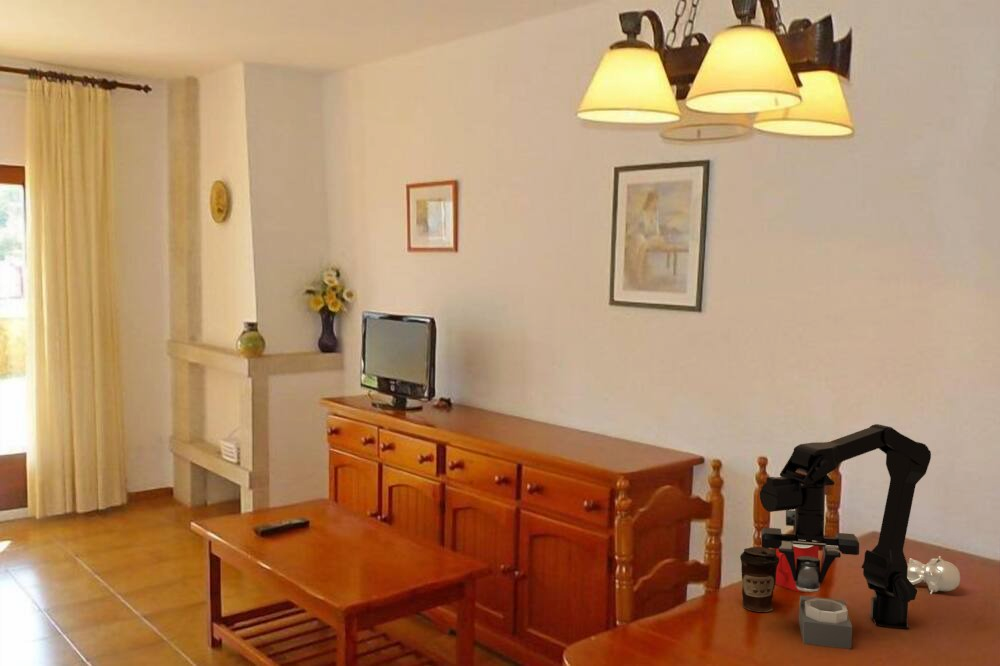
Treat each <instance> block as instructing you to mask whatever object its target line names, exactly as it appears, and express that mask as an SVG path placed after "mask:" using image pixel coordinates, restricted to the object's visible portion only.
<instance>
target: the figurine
mask: <svg viewBox="0 0 1000 666" xmlns="http://www.w3.org/2000/svg"><path fill="white" fill-rule="evenodd" d="M937 557H938V558H936V557H935V558H930V560H929V561H928V562H927V563H926V564H924V563H923V562H921V561H919V560H917V559H914V558H911V557H909V559H908V562H907V565H908V571H907V579H908V580H909V581H910V582H911V583H912V584H913V586H915V585H917V584H920V583H923V584H925V583H926V584H927V587H928V590H929V591H930V592H929V595H933V593H937V592H951V591H954V590H955V589H957V588H958V586H959V585H960V583H961V573H960V570H959V569H958V567H957V566H956V565H955V564H953V563H952V562H949V561H946V560H944V559H943V558H942V556H941V555H939V556H937Z"/></svg>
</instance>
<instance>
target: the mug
mask: <svg viewBox="0 0 1000 666" xmlns="http://www.w3.org/2000/svg"><path fill="white" fill-rule="evenodd" d="M804 541H806V540H804ZM793 549H794V556H795V565H796V558H797V557H799V556H811V557H815V558H818V559H819V552H820V551H819V550H820V546H812V545H799V544H793ZM775 551H776V555H777V556H778V557H779V563H778V565H777V571H776V583H775V586H779V587H781V588H785V589H788V590H791V591H794V592H798V593H805V592H804V591H801V590H798V589H797V588H796V581H794V578H793V575H792V572H791V568H790V565H789V563H788V561H787V559H786V556H785V554H784V553H780V552H779V549H775Z"/></svg>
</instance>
